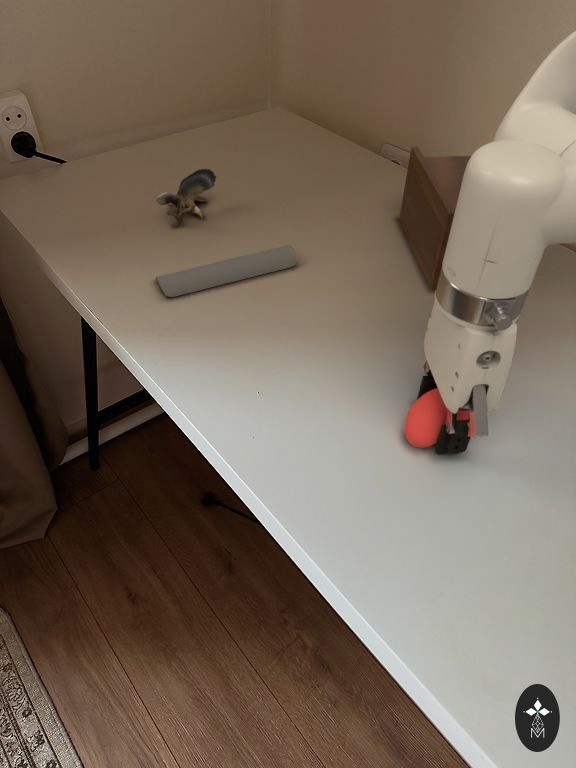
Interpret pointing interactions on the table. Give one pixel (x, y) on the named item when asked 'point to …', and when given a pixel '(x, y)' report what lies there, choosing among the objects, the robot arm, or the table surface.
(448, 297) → the robot arm
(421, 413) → the stress ball
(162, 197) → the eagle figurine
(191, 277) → the gray half cylinder
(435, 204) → the wooden box with backboard
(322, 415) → the table surface
